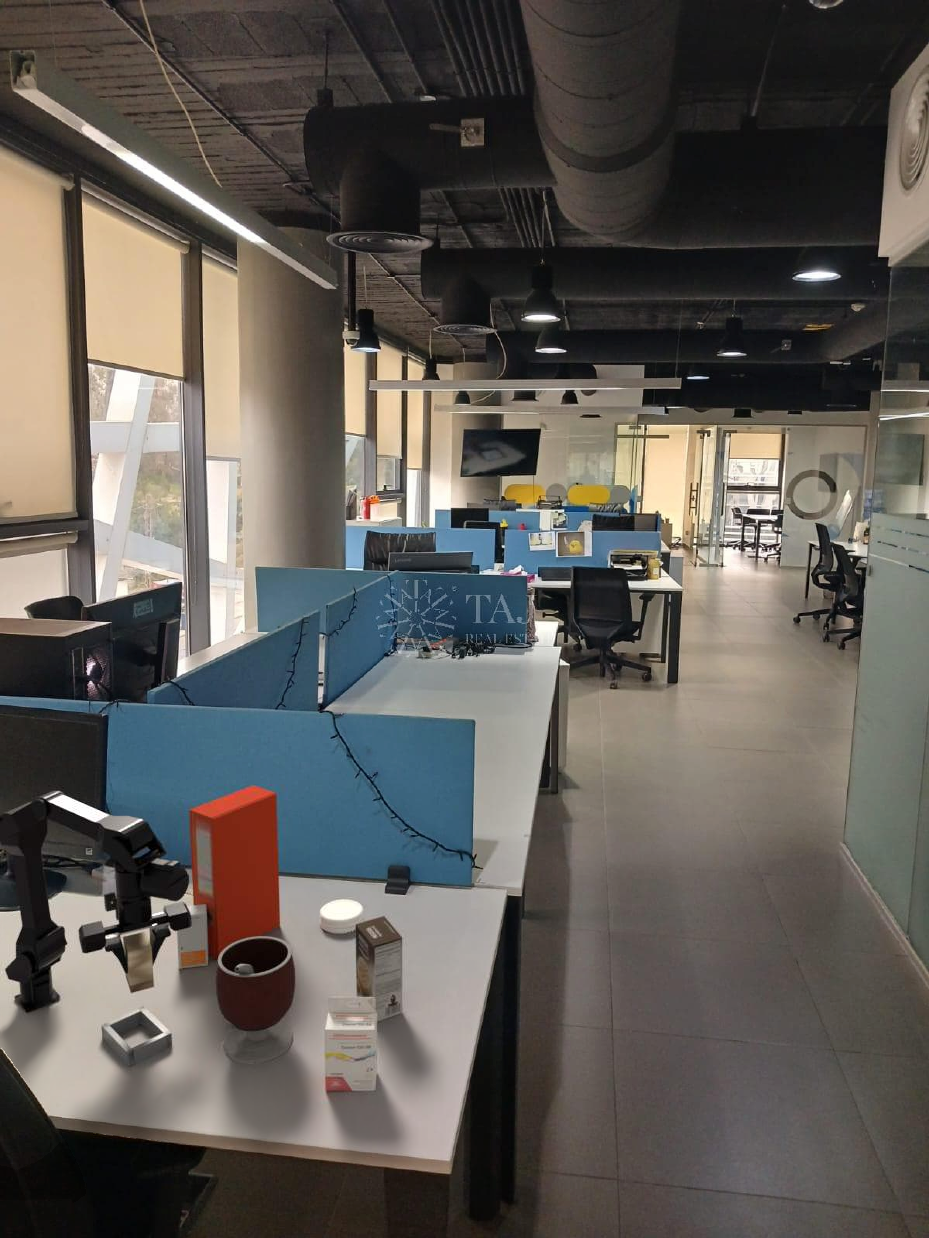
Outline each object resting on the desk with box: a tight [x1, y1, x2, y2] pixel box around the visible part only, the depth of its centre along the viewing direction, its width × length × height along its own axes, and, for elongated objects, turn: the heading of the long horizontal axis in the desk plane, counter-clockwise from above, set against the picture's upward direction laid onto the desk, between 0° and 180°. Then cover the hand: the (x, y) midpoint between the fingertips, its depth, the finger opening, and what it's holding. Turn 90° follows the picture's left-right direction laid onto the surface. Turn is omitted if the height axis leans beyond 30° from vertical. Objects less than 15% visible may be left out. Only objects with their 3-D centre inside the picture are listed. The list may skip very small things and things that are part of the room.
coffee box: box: [355, 915, 403, 1022], centre depth 168 cm, size 9×6×16 cm
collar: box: [101, 1005, 173, 1067], centre depth 159 cm, size 11×8×2 cm
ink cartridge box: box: [324, 996, 378, 1092], centre depth 148 cm, size 9×5×15 cm, turn 92°
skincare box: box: [176, 904, 209, 970], centre depth 183 cm, size 6×4×12 cm
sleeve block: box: [122, 930, 155, 994], centre depth 160 cm, size 4×6×8 cm, turn 29°
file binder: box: [188, 785, 281, 961], centre depth 191 cm, size 8×17×32 cm, turn 145°
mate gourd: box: [215, 935, 296, 1065], centre depth 157 cm, size 16×14×20 cm
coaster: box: [319, 899, 365, 935], centre depth 200 cm, size 10×10×4 cm
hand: (138, 968), depth 160 cm, fingers closed on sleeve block, 4 cm apart
